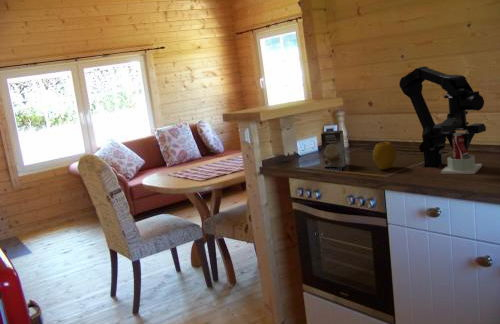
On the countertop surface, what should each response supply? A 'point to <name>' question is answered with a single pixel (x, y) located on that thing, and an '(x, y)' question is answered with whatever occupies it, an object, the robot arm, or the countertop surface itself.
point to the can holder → (461, 166)
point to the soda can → (459, 146)
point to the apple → (384, 155)
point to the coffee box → (333, 148)
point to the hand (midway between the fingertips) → (460, 150)
